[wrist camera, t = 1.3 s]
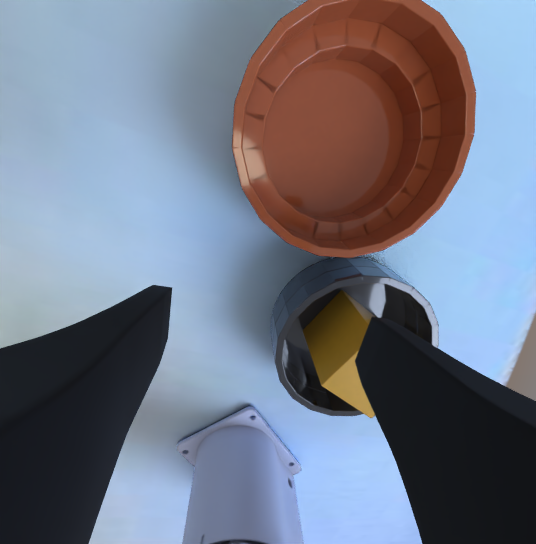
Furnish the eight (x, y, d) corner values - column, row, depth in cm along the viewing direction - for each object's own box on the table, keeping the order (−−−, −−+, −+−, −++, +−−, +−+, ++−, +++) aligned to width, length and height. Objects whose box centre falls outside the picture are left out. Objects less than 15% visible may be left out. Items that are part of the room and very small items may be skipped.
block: (381, 320, 23) (425, 372, 17) (341, 358, 24) (371, 419, 18) (341, 289, 22) (375, 333, 16) (302, 330, 23) (320, 386, 17)
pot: (426, 339, 24) (458, 371, 21) (310, 398, 26) (321, 438, 22) (376, 228, 21) (405, 242, 17) (243, 303, 22) (243, 331, 18)
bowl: (447, 180, 20) (501, 185, 16) (292, 268, 21) (304, 294, 17) (381, -21, 16) (431, -86, 12) (196, 104, 17) (180, 86, 13)
